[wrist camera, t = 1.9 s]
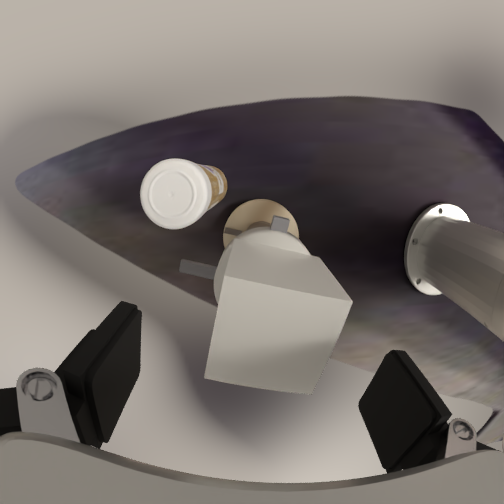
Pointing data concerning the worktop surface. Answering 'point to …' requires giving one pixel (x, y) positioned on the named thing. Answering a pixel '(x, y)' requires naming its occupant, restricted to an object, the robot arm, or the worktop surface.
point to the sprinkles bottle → (180, 192)
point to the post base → (256, 218)
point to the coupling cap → (272, 311)
